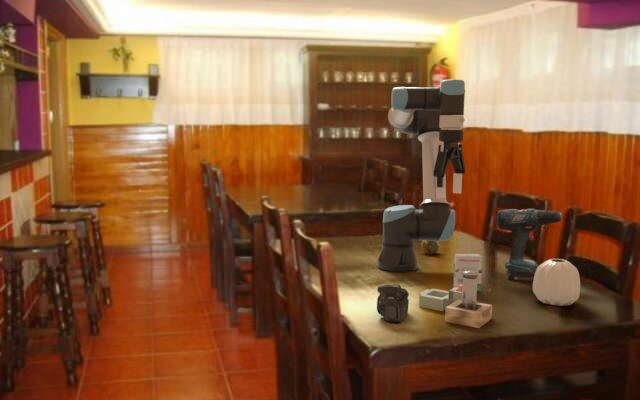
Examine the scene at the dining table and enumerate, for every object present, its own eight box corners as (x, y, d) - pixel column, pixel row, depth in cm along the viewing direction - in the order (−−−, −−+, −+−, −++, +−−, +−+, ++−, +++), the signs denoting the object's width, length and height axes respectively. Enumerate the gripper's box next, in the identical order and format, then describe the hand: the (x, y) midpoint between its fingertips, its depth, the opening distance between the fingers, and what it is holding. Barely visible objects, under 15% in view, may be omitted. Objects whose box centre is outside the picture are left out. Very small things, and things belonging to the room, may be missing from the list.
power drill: (563, 282, 221) (567, 211, 217) (494, 279, 225) (497, 209, 222) (559, 276, 229) (563, 207, 226) (493, 273, 234) (496, 205, 230)
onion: (442, 252, 268) (443, 233, 266) (435, 256, 261) (436, 237, 260) (425, 250, 272) (426, 232, 270) (418, 253, 265) (418, 235, 264)
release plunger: (456, 302, 189) (456, 285, 188) (459, 300, 191) (460, 283, 191) (465, 303, 188) (465, 287, 187) (468, 301, 190) (469, 285, 189)
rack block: (444, 321, 179) (445, 307, 179) (458, 312, 187) (458, 299, 187) (479, 328, 174) (479, 314, 173) (491, 318, 182) (492, 304, 181)
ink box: (478, 287, 214) (480, 253, 212) (481, 291, 209) (483, 256, 207) (452, 287, 214) (454, 252, 213) (455, 291, 210) (456, 256, 208)
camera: (373, 310, 189) (374, 277, 188) (407, 310, 189) (408, 277, 188) (378, 325, 176) (379, 290, 175) (414, 325, 176) (415, 290, 175)
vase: (575, 312, 188) (577, 267, 187) (527, 304, 196) (529, 261, 194) (583, 300, 200) (586, 258, 198) (538, 293, 207) (540, 253, 206)
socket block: (416, 306, 193) (416, 287, 192) (429, 298, 201) (429, 280, 200) (465, 315, 184) (465, 295, 184) (476, 307, 192) (477, 288, 191)
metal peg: (458, 320, 180) (460, 272, 178) (464, 316, 183) (465, 269, 181) (472, 323, 178) (474, 274, 176) (477, 319, 181) (479, 271, 179)
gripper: (446, 130, 190) (444, 200, 193) (476, 128, 211) (474, 192, 213) (423, 129, 194) (421, 198, 197) (455, 128, 215) (453, 190, 218)
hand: (449, 195), depth 205 cm, fingers open, 13 cm apart
